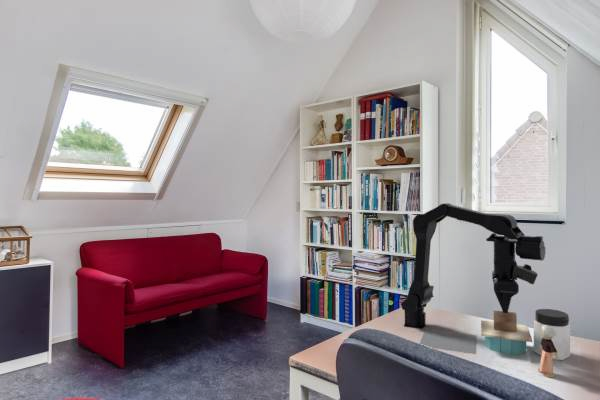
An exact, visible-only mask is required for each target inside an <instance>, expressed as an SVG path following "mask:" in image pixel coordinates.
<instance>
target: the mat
mask: <svg viewBox="0 0 600 400" xmlns="http://www.w3.org/2000/svg"><path fill="white" fill-rule="evenodd" d="M419 344H423V345H426V346H429V347H432V348H431V349H436V350H437V349H438V350H444V351H453V352H458V353H466V354H472V355H476V354H477V334H472V333H471V334H470V333H462V332H453V331H447V330H438V329H430V328H429V329H428V328H425V329H424V331H423V334H422V336H421V339H420V341H419ZM429 347H428V348H429Z"/></svg>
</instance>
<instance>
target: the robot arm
mask: <svg viewBox="0 0 600 400" xmlns="http://www.w3.org/2000/svg"><path fill="white" fill-rule="evenodd" d="M447 217H449V218H452V219H456V220H459V221H463V222H467V223H471V224H473V225H478V226H479V227H482V228H484V229H485V230H487V231H489V232H492V233H491V234H490V236H488V237H487V238H486V239H485V240H486V241H487V242H493V271H492V272H491V274H492V275H491V279H492V283H493V292H494V293H495V294H494V295H495V296H496V299H497V301H498V304H499V306H500V308H501V311H503V313H508V312H509V309H510V304H511V302H512V297H514V296H516V295H517V294H519V292H520V291H519V288H520V287H519V283H518V282H517V280H518V279H519V280H522V281H525V282H527V283H528V284H531V285H534V284H535V283H536V280H537V277H538V274H539V273H538V272H536V271H535V270H532V266H531V265H529V264H526V263H525V264H524V265H518V262H517V260H516V256H518V257H519V258H520V259H524V260H531V261H540V262H541V261H544V260H545V258H546V247H545V242H544V237H543V236H540V235H536V236H530V235H529V236H528V235H525V234H524V232H523V231H522V230H521V228H520V227H519V226H518V222H517V220H516V218H515V217H514V216H512V215H511V214H504V213H503V214H501V213H486V212H481V211H479V210H474V209H470V208H466V207H461V206H458V205H455V204H452V203H440V204H439V205H438V206H436V207H434V208H432V209H430V210H427V212H425V213H421V214H417V215H416V216H414V217H413V220H412V227H413V234H414V236H415V239H416V242H415V243H416V244H415V245H416V246H415V258H414V269H413V270H414V271H413V279H412V283H411V284H410V286H409V289H408V292H407V297H406V299H405V300H404V301H402V302H401V303H400V305H401V308H402V310H403V311H404V324H403V327H404V328H412V329H422V330H423V329H424V327H425V326H426V325H427V314H426V312H425V307H427V304H428V303H430V302H431V301H432V298H434V294H433V293H434V292H433V291H434V285H430V281H429V270H430V269H429V268H430V258H431V257H430V256H431V246H432V245H431V243H432V239H433V237H434V234H435V233H436V230H437V225H438V223H440V222H441V221H443V220H445V218H447Z"/></svg>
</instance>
